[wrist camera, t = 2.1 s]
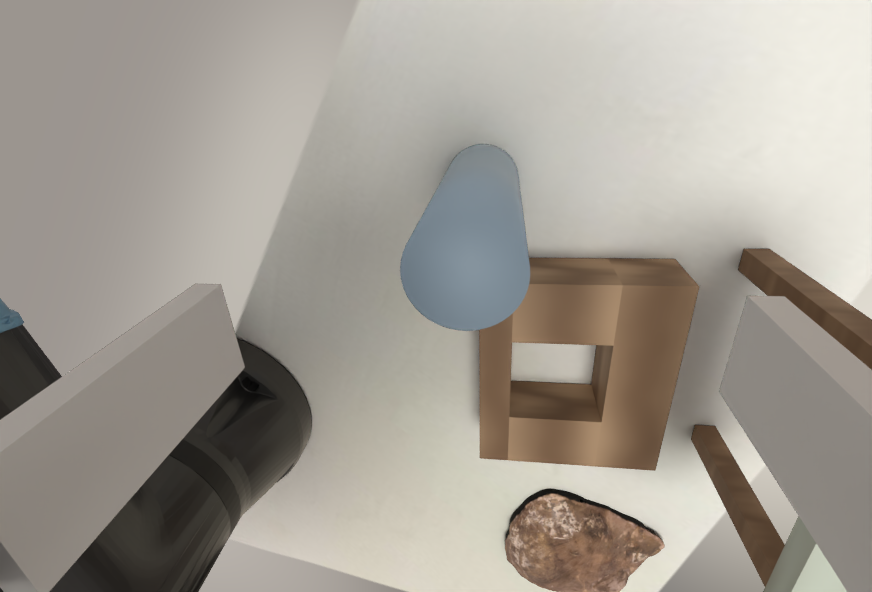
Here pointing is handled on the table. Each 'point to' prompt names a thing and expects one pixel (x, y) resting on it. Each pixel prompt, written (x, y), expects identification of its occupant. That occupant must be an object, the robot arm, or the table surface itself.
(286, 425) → the robot arm
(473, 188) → the peg
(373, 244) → the table surface
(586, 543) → the shell
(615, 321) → the socket station
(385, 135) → the table surface
